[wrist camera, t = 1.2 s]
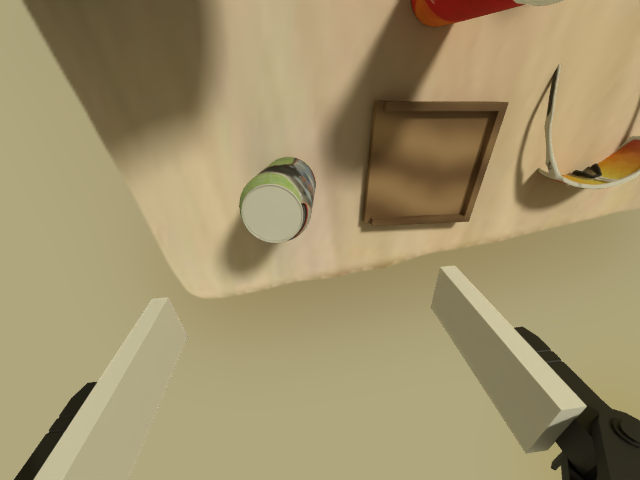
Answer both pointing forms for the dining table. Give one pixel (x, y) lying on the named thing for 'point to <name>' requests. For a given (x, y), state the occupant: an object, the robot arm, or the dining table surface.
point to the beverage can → (279, 200)
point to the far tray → (428, 160)
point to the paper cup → (464, 9)
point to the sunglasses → (616, 169)
